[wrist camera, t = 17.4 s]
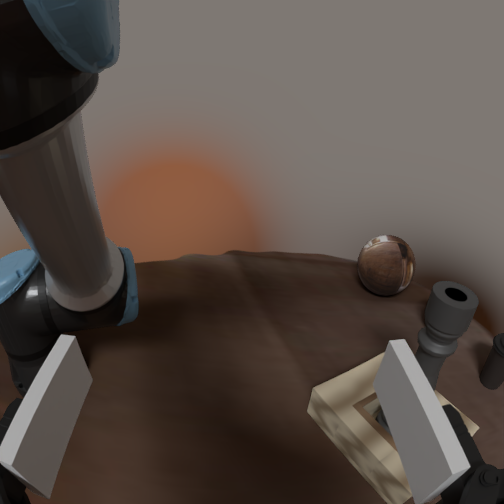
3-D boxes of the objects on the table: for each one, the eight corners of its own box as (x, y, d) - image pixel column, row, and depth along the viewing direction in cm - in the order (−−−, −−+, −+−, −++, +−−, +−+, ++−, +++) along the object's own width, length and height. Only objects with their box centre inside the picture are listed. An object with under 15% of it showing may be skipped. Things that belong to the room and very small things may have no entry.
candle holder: (407, 417, 41) (470, 283, 30) (408, 448, 36) (488, 313, 25) (371, 414, 42) (425, 276, 32) (370, 446, 37) (437, 308, 26)
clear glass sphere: (345, 277, 84) (354, 225, 77) (392, 275, 85) (403, 226, 78) (364, 309, 70) (378, 250, 64) (416, 305, 71) (432, 250, 65)
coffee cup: (507, 396, 41) (531, 358, 37) (475, 391, 44) (499, 352, 40) (502, 369, 48) (522, 333, 43) (472, 364, 51) (492, 326, 46)
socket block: (306, 411, 45) (313, 386, 42) (378, 374, 52) (387, 349, 49) (394, 510, 27) (413, 494, 25) (461, 448, 34) (480, 426, 31)
